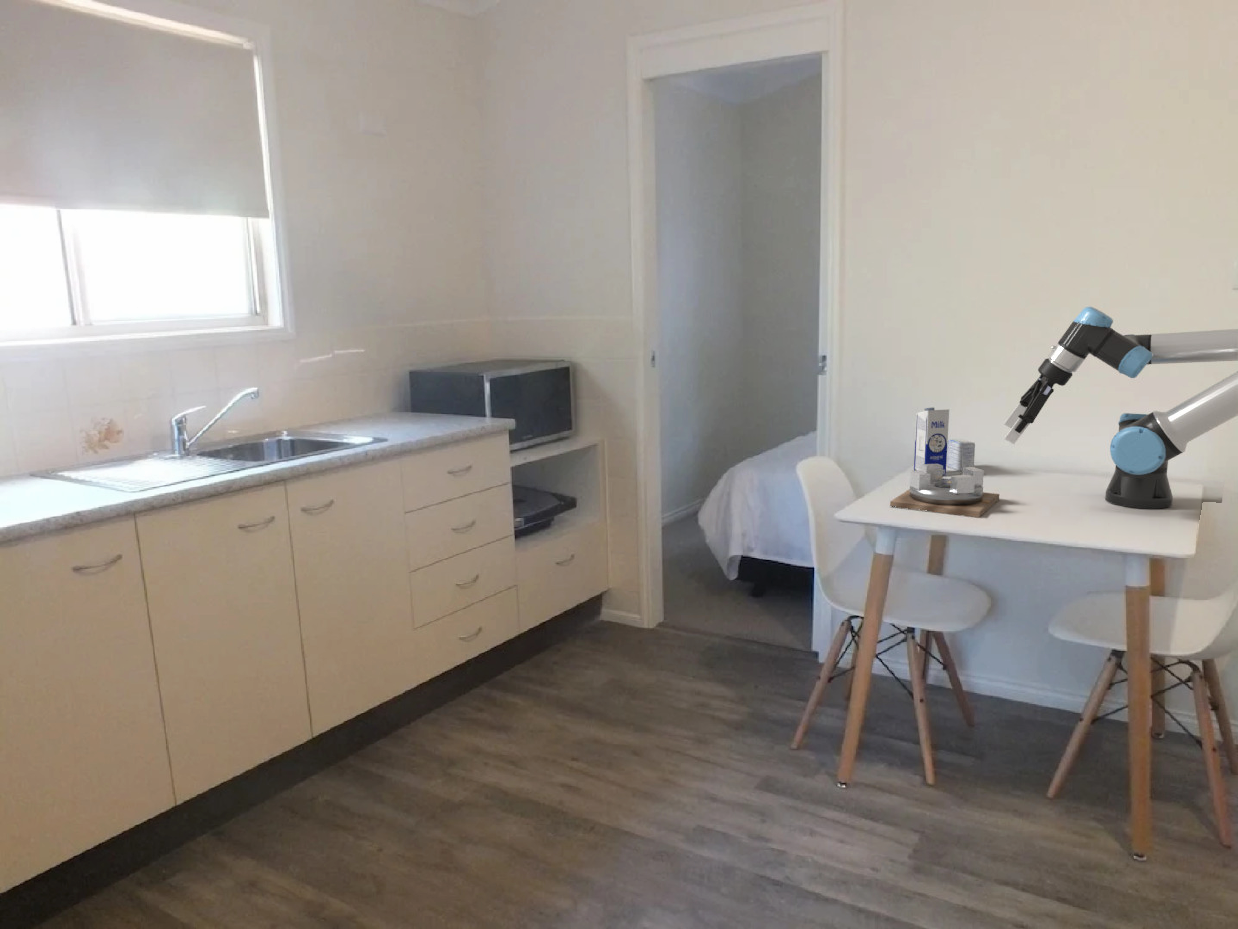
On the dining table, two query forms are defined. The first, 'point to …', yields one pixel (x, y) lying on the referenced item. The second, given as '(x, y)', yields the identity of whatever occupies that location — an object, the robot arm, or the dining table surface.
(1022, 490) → the dining table surface
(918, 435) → the milk carton
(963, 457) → the medicine box
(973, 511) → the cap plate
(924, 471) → the notched metal disc
